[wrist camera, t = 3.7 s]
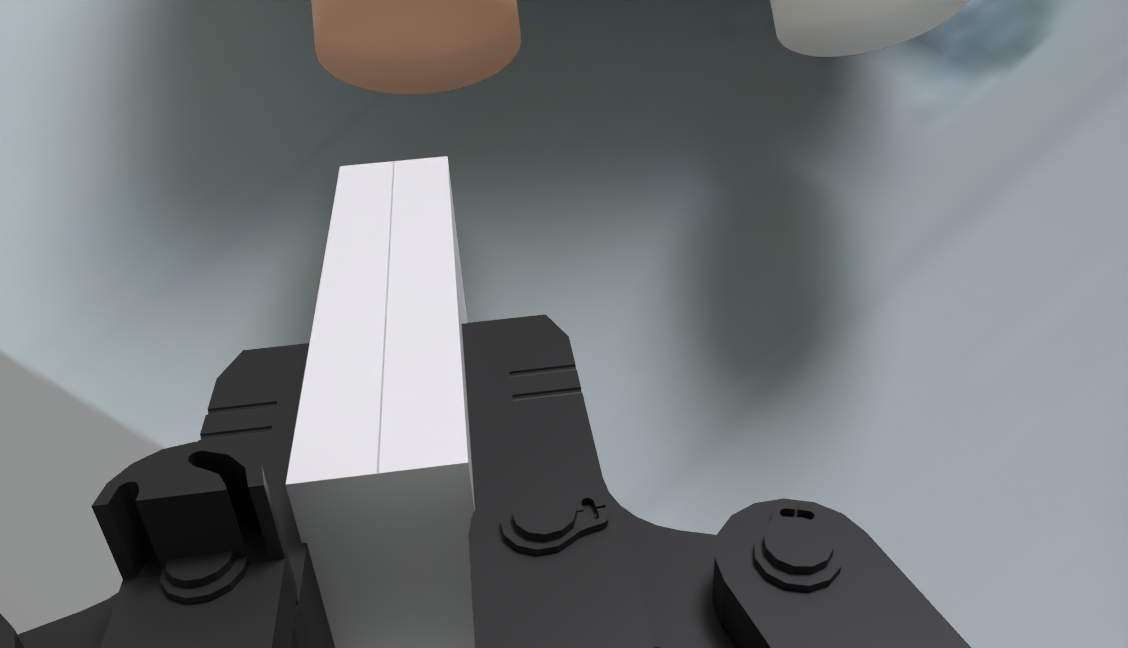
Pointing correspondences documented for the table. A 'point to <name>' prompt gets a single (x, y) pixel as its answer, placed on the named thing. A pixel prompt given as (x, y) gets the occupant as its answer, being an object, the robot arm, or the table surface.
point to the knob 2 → (855, 23)
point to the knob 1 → (415, 42)
